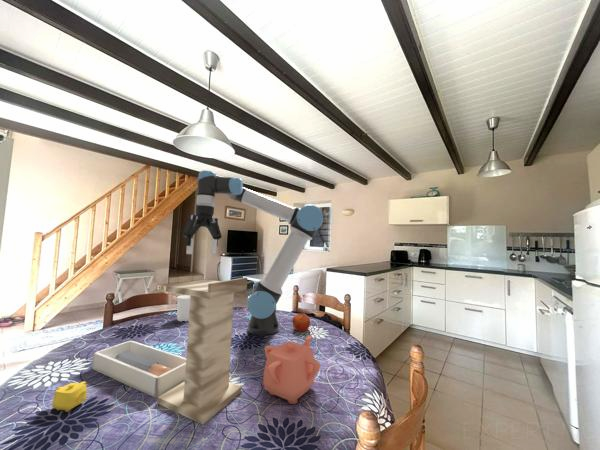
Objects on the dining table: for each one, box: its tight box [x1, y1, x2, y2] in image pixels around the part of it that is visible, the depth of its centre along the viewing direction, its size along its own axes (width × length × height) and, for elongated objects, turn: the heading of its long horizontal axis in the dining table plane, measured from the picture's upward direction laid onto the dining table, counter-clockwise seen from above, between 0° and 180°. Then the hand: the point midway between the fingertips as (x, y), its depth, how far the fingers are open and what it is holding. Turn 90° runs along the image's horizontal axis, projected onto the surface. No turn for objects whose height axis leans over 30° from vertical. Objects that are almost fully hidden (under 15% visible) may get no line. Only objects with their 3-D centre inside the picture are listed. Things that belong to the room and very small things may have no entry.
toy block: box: [51, 381, 88, 413], centre depth 61 cm, size 8×6×5 cm
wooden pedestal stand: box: [156, 277, 248, 426], centre depth 66 cm, size 16×14×32 cm
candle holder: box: [176, 294, 191, 322], centre depth 130 cm, size 10×10×12 cm
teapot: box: [262, 334, 321, 405], centre depth 70 cm, size 17×16×13 cm
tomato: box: [292, 312, 311, 332], centre depth 119 cm, size 9×9×8 cm
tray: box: [91, 340, 186, 399], centre depth 76 cm, size 32×12×5 cm, turn 65°
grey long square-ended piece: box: [116, 352, 172, 376], centre depth 76 cm, size 24×3×3 cm, turn 66°
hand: (202, 253), depth 106 cm, fingers open, 13 cm apart
